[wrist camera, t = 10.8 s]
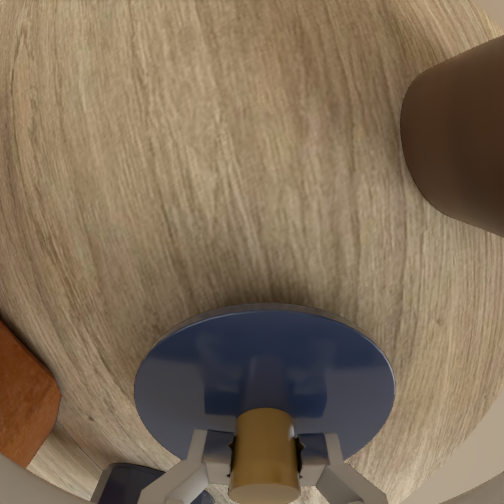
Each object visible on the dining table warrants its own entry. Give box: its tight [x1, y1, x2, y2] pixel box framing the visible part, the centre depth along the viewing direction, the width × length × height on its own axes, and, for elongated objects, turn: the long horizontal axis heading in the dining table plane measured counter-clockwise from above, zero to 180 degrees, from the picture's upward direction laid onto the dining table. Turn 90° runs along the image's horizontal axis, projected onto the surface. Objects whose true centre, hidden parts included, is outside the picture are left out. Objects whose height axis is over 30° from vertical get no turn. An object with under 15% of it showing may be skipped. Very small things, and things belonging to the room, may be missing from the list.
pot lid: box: [134, 303, 396, 504], centre depth 9 cm, size 11×11×5 cm
